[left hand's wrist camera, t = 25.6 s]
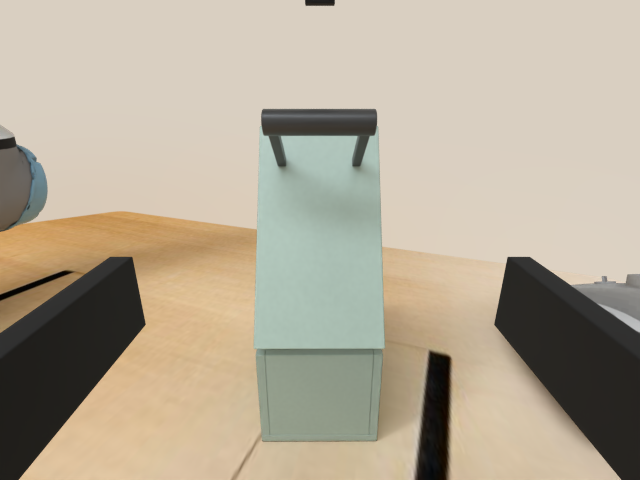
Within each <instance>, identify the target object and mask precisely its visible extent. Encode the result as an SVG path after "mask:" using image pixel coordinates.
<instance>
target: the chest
mask: <svg viewBox="0 0 640 480" xmlns="http://www.w3.org/2000/svg"><path fill="white" fill-rule="evenodd" d="M382 362H383V353H382V349H257V352H256V366H257V379H258V393H259V406H260V419H261V432H262V441H377V430H378V417H379V403H380V389H381V376H382Z"/></svg>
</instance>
